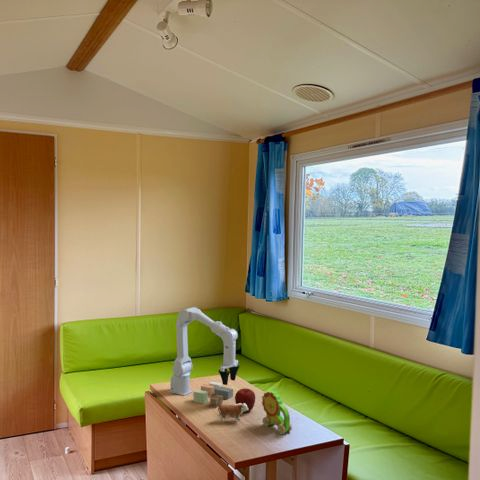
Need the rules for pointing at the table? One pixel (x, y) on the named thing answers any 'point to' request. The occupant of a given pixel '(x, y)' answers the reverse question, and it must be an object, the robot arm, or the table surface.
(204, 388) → the terracotta brick
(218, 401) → the walnut brick
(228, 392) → the charcoal brick
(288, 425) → the toy lion
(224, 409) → the bull figurine
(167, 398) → the table surface
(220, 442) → the table surface
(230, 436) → the table surface
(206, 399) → the sage brick
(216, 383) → the pale grey brick
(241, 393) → the apple
